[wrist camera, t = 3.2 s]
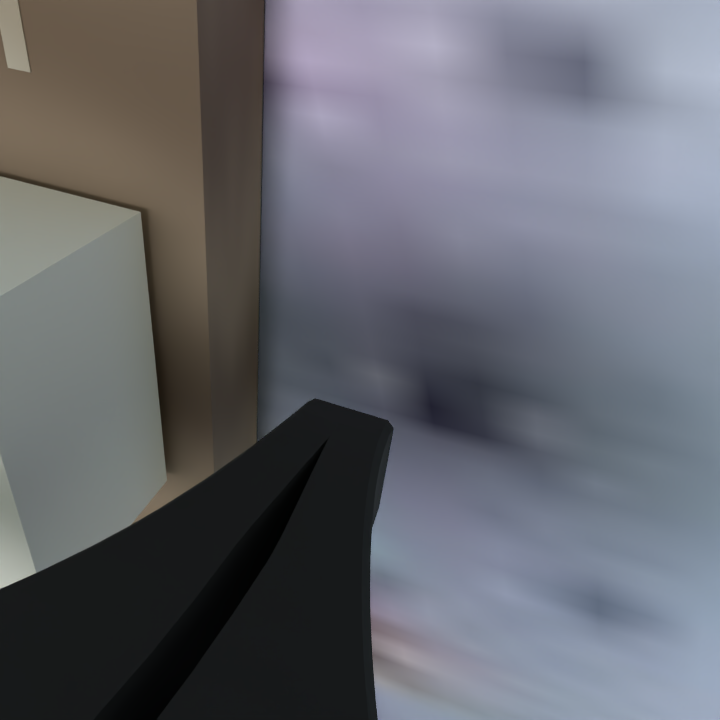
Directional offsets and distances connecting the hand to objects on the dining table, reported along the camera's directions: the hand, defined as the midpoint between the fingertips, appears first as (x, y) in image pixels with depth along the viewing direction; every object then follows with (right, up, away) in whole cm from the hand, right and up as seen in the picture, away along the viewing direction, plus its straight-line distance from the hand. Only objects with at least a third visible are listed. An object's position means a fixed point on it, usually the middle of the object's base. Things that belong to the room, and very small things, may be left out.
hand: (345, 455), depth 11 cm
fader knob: (-5, +2, +2) cm, 6 cm away
